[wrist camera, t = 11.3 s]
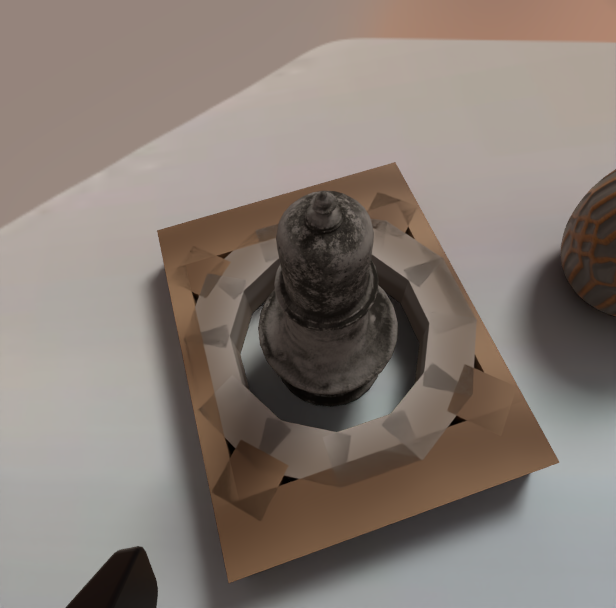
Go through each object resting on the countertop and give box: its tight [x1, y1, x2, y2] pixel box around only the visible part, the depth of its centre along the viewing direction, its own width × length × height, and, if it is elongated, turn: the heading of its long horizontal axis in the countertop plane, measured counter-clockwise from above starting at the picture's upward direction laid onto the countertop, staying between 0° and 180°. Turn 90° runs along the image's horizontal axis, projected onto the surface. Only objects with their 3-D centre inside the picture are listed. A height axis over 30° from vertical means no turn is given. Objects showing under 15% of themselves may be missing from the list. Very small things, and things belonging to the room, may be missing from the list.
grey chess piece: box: [258, 191, 398, 407], centre depth 16 cm, size 6×6×12 cm
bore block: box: [157, 162, 559, 583], centre depth 21 cm, size 16×13×2 cm
